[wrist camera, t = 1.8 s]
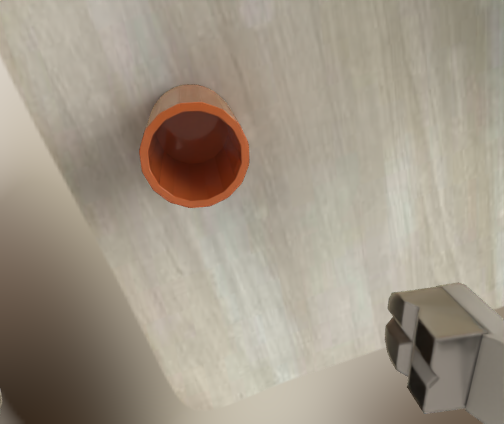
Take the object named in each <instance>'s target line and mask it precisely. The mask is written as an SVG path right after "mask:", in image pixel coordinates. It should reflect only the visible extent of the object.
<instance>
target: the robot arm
mask: <svg viewBox="0 0 504 424" xmlns="http://www.w3.org/2000/svg"><path fill="white" fill-rule="evenodd" d="M388 310H389V312H390V313H391V314H392V316H393V317H392V319H391V320H390V321H389V322H388V324H387V325H386V328H385V343H386V348H387V352H388V355H389V357H390V360H391V362H392V364H393V365H394V367H395V369H396V370H397V371H399V372H400V373H402V374H404V375H405V376H407V377H408V383H407V388H408V389H409V391H410V393H411V394H412V395H413V397H414V399H415V400H416V402H417V404H418V405H419V407H420V408H421V410H422V411H423V413H424V414H427V413H434V412H442V411H448V410H456V409H464V408H466V411H467V412H468V413H470V414H471V415H473V416H474V417H475V418H477V419H478V420H480V421H481V422H482V423H484V424H504V319H503V318H502V317H501V316H500V315H498V314H497V313H496V312H495V311H494V310H493V309H492V308H491V307H490V306H488V305H487V304H486V303H485V302H484V301H483V300H482V299H481V298H479V297H478V296H477V295H476V294H475V293H474V292H473V291H472V290H471V289H469V288H468V287H467V286H466V285H464V284H462V283H459V282H458V283H452V284H446V285H439V286H436V287H431V288H424V289H416V290H409V291H401V292H394V293H392V294H391V296H390V298H389V302H388ZM1 406H2V396H1V389H0V412H1Z"/></svg>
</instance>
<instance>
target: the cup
mask: <svg viewBox="0 0 504 424" xmlns="http://www.w3.org/2000/svg"><path fill="white" fill-rule="evenodd" d="M139 155H140V162H141V169H142V173H143V174H144V176H145V178H146V179H147V181H148V183H149V184H150V186H151V188H152V189H153V190H154V191H155V192H156V193H158V194H159V195H160V196H162V197H163V198H164V199H166V200H167V201H168V202H170V203H173V204H177V205H181V206H184V207H188V208H196V207H207V206H212V205H214V204H216V203H218V202H220V201H222V200H224V199H226V198H228V197H229V196H230V195H231V194H232V193H233V192H234V191H235V190H236V189H237V188H238V187H239V186H240V185H241V183H242V182H243V179H244V177H245V174H246V171H247V169H248V166H249V144H248V141H247V138H246V136H245V134H244V132H243V130H242V128H241V126H240V124H239V122H238V121H237V119H236V117H235V116H234V114H233V113H232V111H231V109H230V108H229V106H228V104H227V103H226V102H225V101H224V100H223V99H222V98H221V97H220V96H219V95H218V94H217V93H216V92H214V91H213V90H211V89H209V88H207V87H204V86H200V85H195V84H187V85H181V86H177V87H175V88H172V89H170V90H169V91H167V92H166V93H165V94H163V95H162V96H161V97H160V98H159V100H158V101H157V102H156V104H155V105H154V106H153V109H152V111H151V114H150V117H149V120H148V123H147V126H146V128H145V131H144V135H143V138H142V142H141V145H140V149H139Z"/></svg>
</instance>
